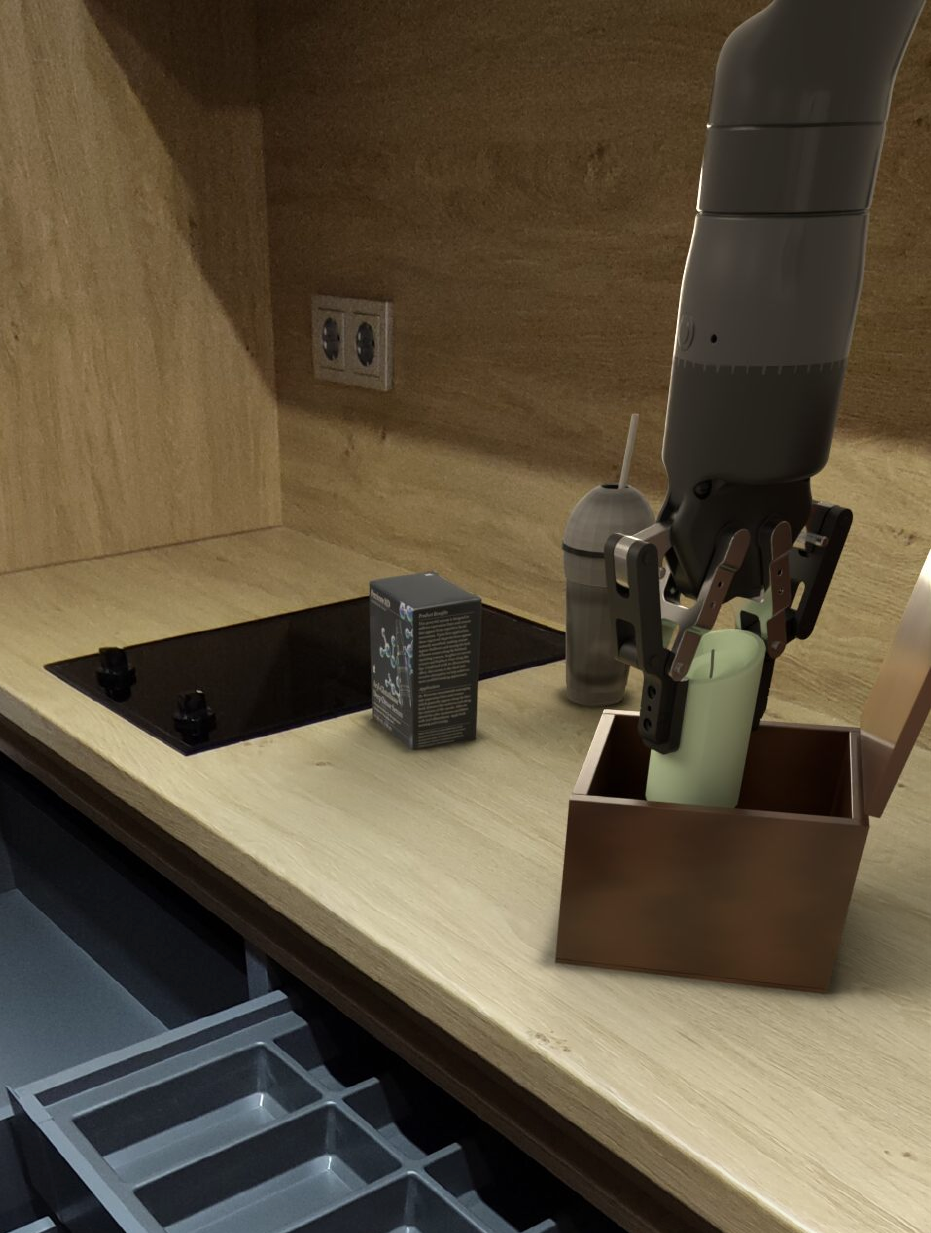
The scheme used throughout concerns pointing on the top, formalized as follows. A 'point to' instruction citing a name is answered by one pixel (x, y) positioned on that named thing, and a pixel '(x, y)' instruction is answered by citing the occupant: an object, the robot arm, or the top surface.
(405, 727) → the box
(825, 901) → the chest
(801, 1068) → the top surface
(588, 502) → the beverage cup
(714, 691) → the candle
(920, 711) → the lid
